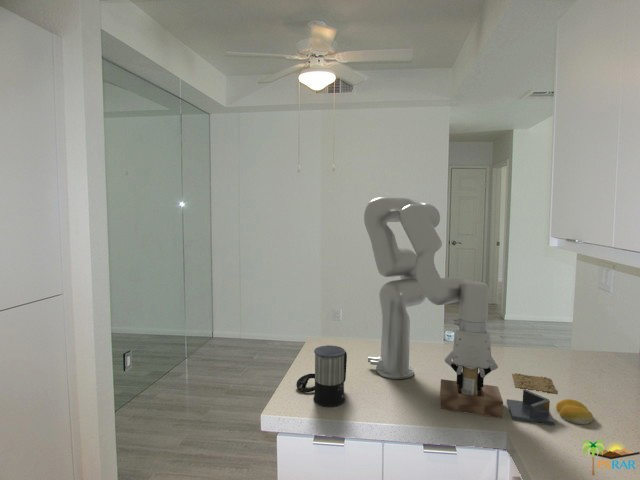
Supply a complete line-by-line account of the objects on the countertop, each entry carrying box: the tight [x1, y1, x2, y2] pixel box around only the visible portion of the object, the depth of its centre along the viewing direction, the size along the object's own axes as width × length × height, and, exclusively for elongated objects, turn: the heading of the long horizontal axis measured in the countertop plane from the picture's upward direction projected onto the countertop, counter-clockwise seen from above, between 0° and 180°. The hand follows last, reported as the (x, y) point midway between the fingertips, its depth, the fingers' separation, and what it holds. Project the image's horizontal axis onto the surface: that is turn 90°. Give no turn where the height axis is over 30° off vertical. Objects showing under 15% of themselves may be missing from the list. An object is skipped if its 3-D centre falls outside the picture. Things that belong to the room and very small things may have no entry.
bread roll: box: [555, 398, 594, 425], centre depth 111 cm, size 8×9×4 cm
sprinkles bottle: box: [461, 366, 479, 396], centre depth 116 cm, size 5×5×14 cm
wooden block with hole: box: [439, 378, 504, 419], centre depth 116 cm, size 16×10×4 cm, turn 74°
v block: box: [506, 389, 555, 426], centre depth 112 cm, size 10×11×4 cm
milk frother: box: [296, 344, 348, 408], centre depth 121 cm, size 14×16×15 cm
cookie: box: [511, 373, 558, 395], centre depth 132 cm, size 12×12×1 cm
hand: (469, 387), depth 116 cm, fingers closed on sprinkles bottle, 4 cm apart
